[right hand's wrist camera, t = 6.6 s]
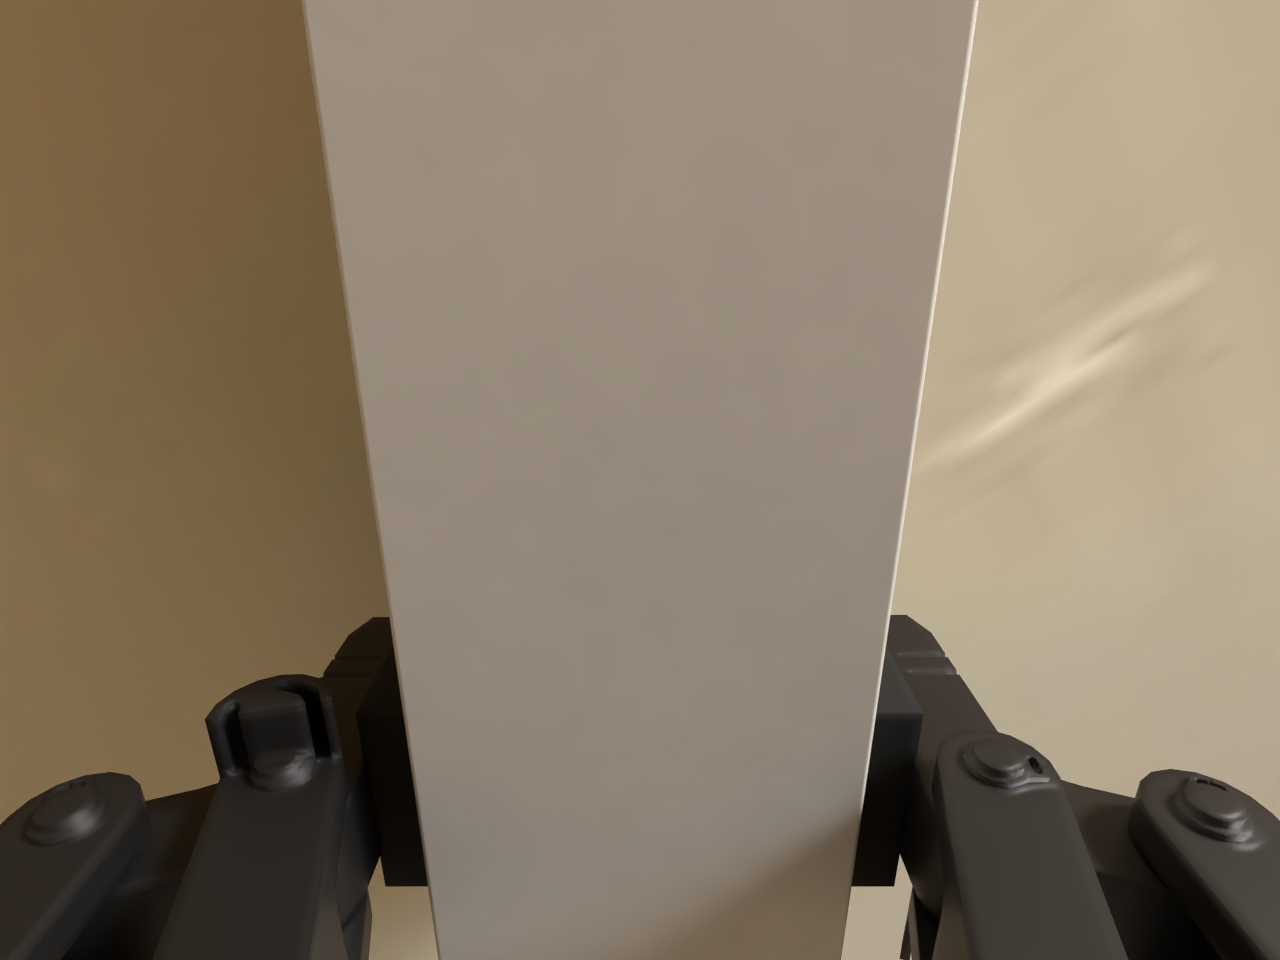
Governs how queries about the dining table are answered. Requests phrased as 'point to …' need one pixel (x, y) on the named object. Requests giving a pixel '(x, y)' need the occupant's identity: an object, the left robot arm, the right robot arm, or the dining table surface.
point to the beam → (639, 439)
